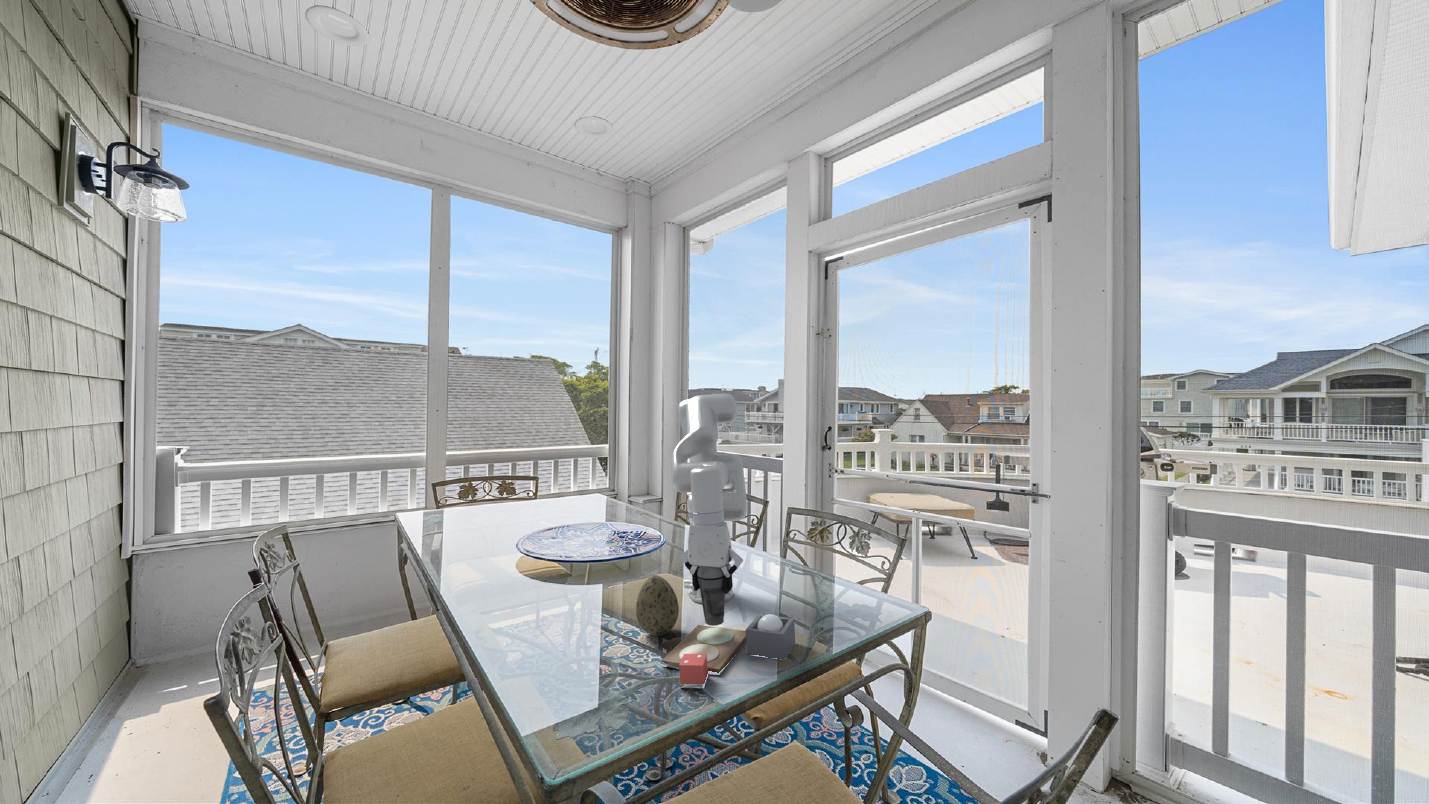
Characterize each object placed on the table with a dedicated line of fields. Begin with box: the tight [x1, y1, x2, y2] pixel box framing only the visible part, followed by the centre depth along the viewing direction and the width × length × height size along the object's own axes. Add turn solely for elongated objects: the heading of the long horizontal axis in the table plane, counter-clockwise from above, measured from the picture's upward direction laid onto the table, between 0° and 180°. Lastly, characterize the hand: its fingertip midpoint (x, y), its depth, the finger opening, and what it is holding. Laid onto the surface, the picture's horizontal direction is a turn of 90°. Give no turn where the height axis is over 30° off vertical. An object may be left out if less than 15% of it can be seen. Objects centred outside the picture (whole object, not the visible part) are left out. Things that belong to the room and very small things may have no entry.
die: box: [679, 654, 709, 685], centre depth 123 cm, size 5×5×5 cm
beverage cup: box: [697, 566, 726, 627], centre depth 140 cm, size 7×7×20 cm
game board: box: [661, 624, 746, 673], centre depth 136 cm, size 14×20×2 cm
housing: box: [745, 613, 796, 661], centre depth 136 cm, size 9×9×6 cm
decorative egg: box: [635, 574, 680, 637], centre depth 147 cm, size 11×11×15 cm
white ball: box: [758, 613, 783, 632], centre depth 136 cm, size 6×6×6 cm
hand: (712, 589), depth 140 cm, fingers closed on beverage cup, 7 cm apart
